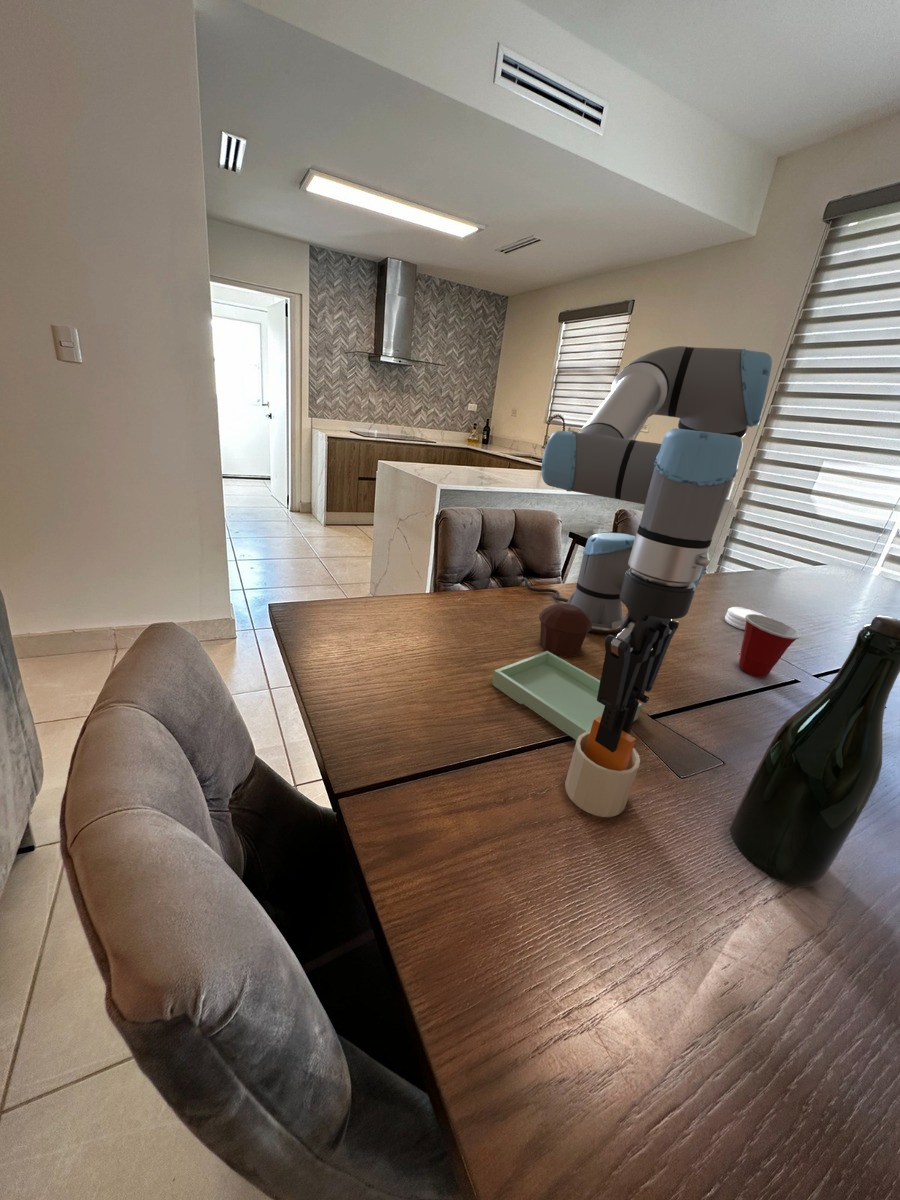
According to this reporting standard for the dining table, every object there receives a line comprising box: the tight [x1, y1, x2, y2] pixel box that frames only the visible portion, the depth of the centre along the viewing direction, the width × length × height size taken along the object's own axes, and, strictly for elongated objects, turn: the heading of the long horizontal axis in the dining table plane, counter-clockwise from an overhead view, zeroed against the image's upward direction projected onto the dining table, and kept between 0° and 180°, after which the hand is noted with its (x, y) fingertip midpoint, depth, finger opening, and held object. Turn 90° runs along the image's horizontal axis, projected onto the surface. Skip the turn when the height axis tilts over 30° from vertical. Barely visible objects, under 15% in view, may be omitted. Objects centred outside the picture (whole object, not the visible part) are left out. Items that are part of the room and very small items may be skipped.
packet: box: [584, 716, 637, 771], centre depth 63 cm, size 6×1×11 cm, turn 40°
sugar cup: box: [564, 731, 641, 818], centre depth 64 cm, size 8×8×8 cm
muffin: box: [538, 602, 592, 658], centre depth 105 cm, size 12×11×10 cm
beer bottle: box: [729, 615, 900, 888], centre depth 54 cm, size 10×10×33 cm
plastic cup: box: [738, 614, 803, 678], centre depth 105 cm, size 11×11×12 cm
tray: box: [491, 650, 643, 742], centre depth 86 cm, size 22×16×3 cm
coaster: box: [724, 606, 765, 631], centre depth 132 cm, size 10×10×4 cm
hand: (610, 741), depth 62 cm, fingers closed
